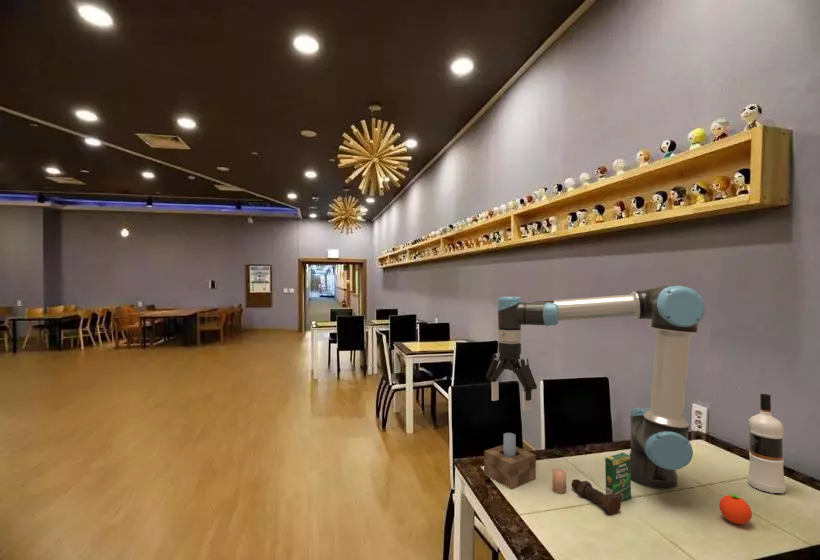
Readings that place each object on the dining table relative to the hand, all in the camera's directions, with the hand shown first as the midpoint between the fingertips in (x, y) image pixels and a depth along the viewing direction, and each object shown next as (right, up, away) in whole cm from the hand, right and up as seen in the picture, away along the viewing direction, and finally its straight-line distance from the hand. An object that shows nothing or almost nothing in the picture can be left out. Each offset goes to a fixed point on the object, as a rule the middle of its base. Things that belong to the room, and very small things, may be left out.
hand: (510, 405), depth 134 cm
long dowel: (0, -24, 0) cm, 24 cm away
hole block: (0, -24, 0) cm, 24 cm away
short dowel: (+13, -24, -9) cm, 29 cm away
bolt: (+21, -24, -15) cm, 36 cm away
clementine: (+55, -24, -25) cm, 66 cm away
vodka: (+81, -25, -7) cm, 85 cm away
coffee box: (+29, -24, -14) cm, 41 cm away
